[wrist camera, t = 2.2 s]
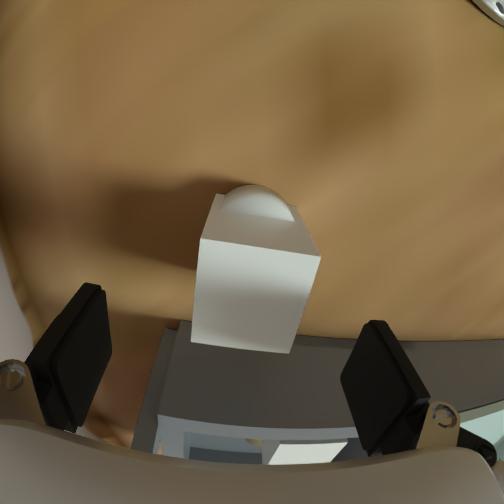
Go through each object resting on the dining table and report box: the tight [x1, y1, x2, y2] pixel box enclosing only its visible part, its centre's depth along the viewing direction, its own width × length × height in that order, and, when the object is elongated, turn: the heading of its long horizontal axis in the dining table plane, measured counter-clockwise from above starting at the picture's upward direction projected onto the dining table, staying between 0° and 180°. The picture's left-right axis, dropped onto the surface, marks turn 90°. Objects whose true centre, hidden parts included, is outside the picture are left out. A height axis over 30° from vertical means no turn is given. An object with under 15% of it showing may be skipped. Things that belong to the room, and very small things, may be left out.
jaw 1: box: [191, 185, 321, 354], centre depth 13 cm, size 5×4×6 cm
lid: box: [458, 400, 504, 461], centre depth 16 cm, size 16×16×3 cm
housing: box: [131, 320, 504, 464], centre depth 19 cm, size 16×34×9 cm, turn 80°
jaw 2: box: [261, 438, 348, 465], centre depth 17 cm, size 5×4×6 cm
